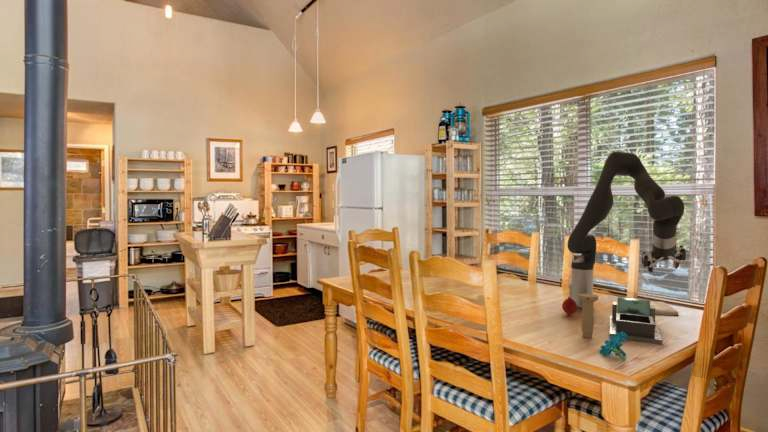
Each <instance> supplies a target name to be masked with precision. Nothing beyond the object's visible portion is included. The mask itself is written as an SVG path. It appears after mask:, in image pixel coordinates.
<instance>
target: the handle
mask: <svg viewBox="0 0 768 432" xmlns="http://www.w3.org/2000/svg"><path fill="white" fill-rule="evenodd" d="M578 297H579V299H580V300H582V301H583V308H582V311H581V312H582V315H581V331H582V334H581V335H582V337H583V338H587V339H591V338H592V337H593V332H594V327H595V326H594V325H595V318H594V303H595V302H597V301H598V300H599V295H597V294H593V295H592V294H579V295H578Z"/></svg>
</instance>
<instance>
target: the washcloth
mask: <svg viewBox="0 0 768 432" xmlns="http://www.w3.org/2000/svg"><path fill="white" fill-rule="evenodd" d="M650 305H651V306H655V316H658V315H659V316H672V315H678V316H679V311H678V310H676V309H674V308H673V307H672V306H670V305H669V304H667V303H666V302H664V301H650Z"/></svg>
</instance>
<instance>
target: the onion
mask: <svg viewBox="0 0 768 432" xmlns="http://www.w3.org/2000/svg"><path fill="white" fill-rule="evenodd" d="M561 306H562V307H561V308H562V310H563V312H564V313H566V315H568V316H571V315H573V314H575V313H576V312H577V310H578V307H577V304H576V302H575V301H574V300H573V299H572V298H571V297H569V295H568V296H567V298H566V299H565V300H563V302H562V305H561Z"/></svg>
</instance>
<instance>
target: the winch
mask: <svg viewBox="0 0 768 432" xmlns="http://www.w3.org/2000/svg"><path fill="white" fill-rule="evenodd" d="M650 302H651V300H650V299H640V298H631V297H630V298H629V297H620V296H618V297H617V301H612V307H611V308H612V310H611V313H612V314H610V315H609V333H608V335H609V337H608V338H609V339H610V336H612V335H613V336H615V334H616V333H617V332H619V333H621V332H622V331H623V332H624V333H626V334H627V337H626V339H627V340H626V341H632V342H640V343H641V342H642V343H647V344H655V345H663V339H662V336H661V332H660V330H659V326H658V323H657V321H656V315H655V306H651V305H650Z"/></svg>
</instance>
